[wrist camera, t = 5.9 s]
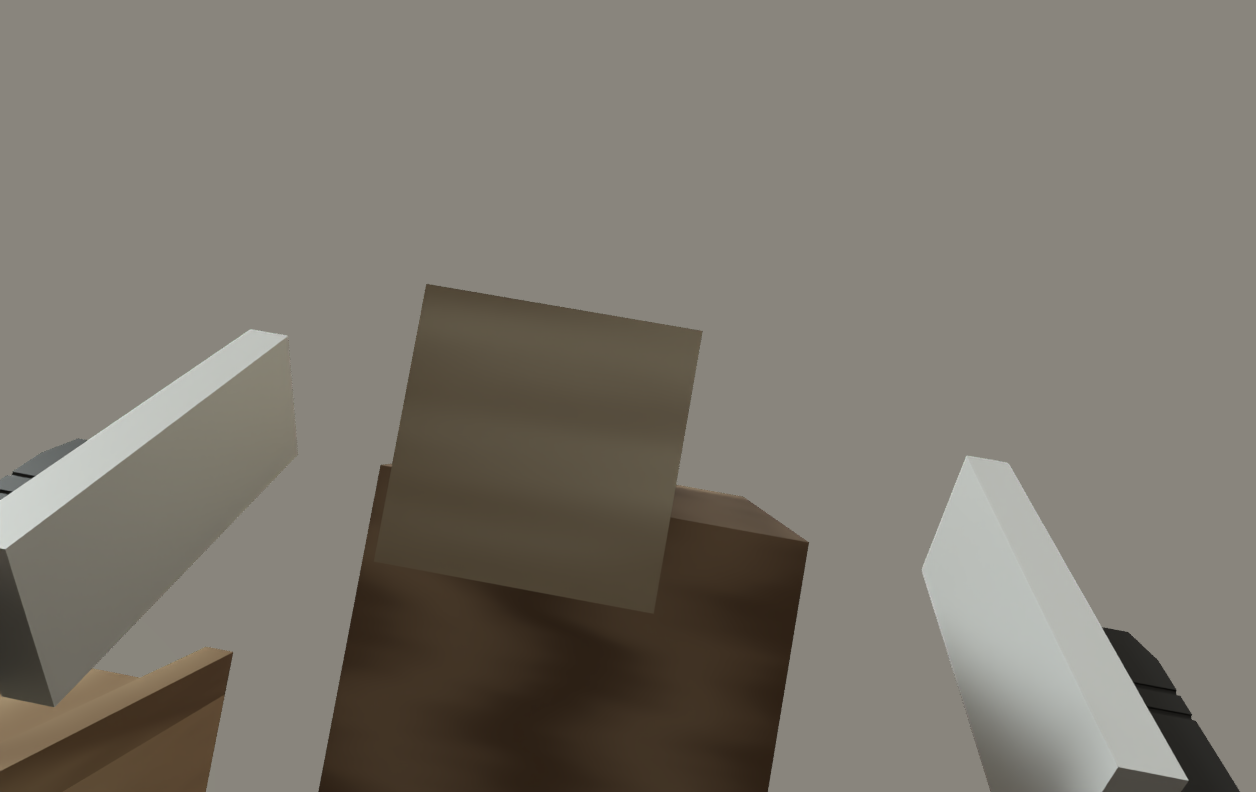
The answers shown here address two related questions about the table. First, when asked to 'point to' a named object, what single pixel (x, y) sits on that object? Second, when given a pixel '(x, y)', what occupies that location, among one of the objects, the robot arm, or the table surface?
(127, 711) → the oak pedestal
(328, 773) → the walnut stand
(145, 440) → the robot arm
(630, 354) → the ash rail
